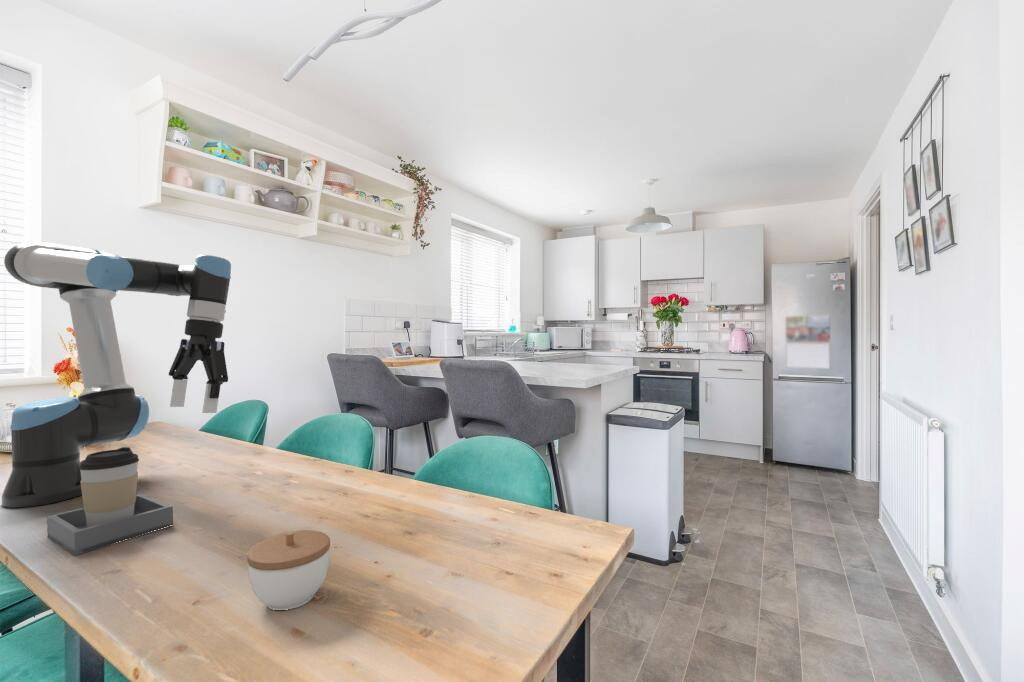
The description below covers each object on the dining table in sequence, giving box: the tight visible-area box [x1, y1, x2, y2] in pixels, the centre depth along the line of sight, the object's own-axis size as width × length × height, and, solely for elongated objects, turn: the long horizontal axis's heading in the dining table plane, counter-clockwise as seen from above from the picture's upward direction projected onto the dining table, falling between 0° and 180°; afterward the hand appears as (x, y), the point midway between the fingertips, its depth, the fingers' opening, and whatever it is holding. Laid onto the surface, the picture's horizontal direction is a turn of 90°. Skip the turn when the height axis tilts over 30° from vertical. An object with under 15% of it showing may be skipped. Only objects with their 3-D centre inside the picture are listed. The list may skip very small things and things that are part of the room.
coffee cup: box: [79, 446, 140, 527], centre depth 92 cm, size 9×9×15 cm
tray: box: [46, 493, 174, 556], centre depth 92 cm, size 15×15×4 cm
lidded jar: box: [246, 529, 331, 611], centre depth 67 cm, size 11×11×9 cm
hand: (192, 409), depth 110 cm, fingers open, 13 cm apart
